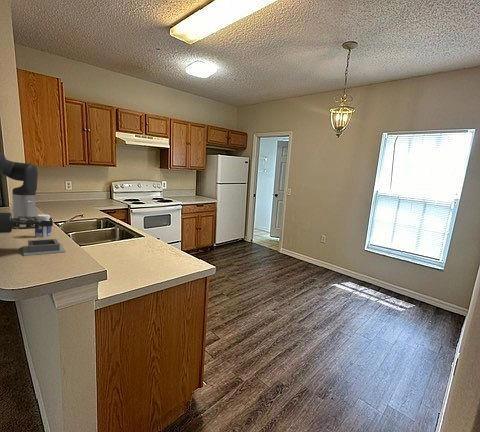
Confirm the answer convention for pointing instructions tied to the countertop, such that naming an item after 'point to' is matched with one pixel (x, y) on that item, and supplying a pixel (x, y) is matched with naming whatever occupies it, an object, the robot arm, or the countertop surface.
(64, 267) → the countertop surface
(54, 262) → the countertop surface
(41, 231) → the pill bottle
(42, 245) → the socket
